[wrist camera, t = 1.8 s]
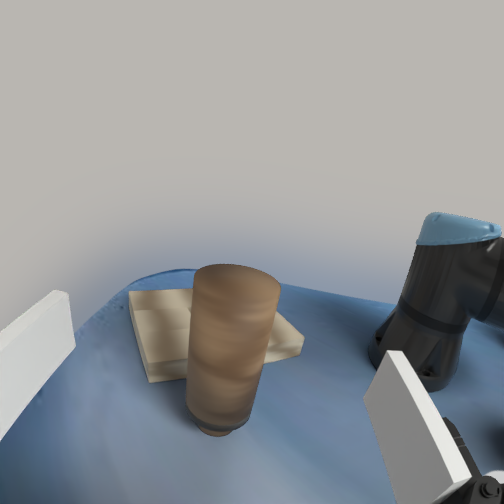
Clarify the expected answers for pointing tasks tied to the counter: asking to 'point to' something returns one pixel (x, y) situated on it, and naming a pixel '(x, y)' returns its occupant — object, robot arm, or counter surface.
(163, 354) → the birch board
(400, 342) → the robot arm
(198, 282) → the walnut peg
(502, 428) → the counter surface
